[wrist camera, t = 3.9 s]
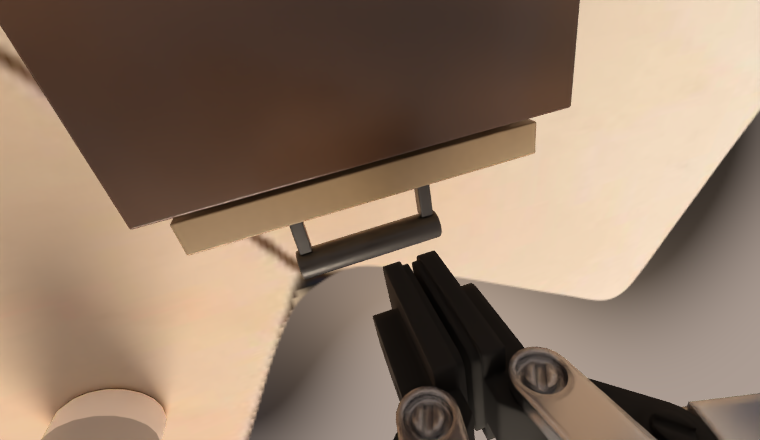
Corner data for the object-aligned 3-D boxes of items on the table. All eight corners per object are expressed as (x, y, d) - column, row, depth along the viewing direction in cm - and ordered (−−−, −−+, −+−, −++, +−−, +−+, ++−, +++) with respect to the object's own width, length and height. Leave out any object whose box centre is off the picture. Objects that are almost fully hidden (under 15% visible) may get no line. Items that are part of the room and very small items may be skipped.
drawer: (445, 184, 23) (531, 259, 16) (251, 241, 21) (244, 358, 14) (394, -332, 13) (573, -826, 5) (12, -302, 11) (-512, -980, 4)
